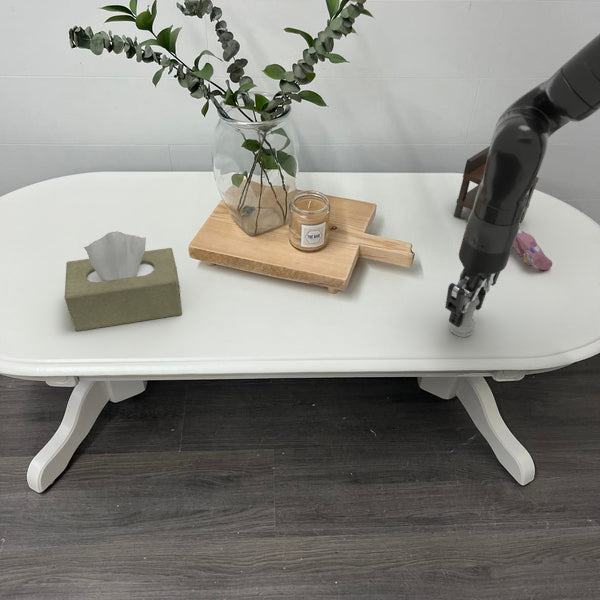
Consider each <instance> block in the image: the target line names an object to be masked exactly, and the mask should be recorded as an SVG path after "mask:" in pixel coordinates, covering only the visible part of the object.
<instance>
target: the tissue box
mask: <svg viewBox="0 0 600 600" xmlns="http://www.w3.org/2000/svg"><path fill="white" fill-rule="evenodd" d="M146 244H147V237H141V236H138V235H134V234H126V233H123V232H122V231H116V230H115V231H110V232H107V233H106V234H105V235H104V236H102V237H100V238H99V239H97V240H95V241H93V242H91V243H89V244H88V245H87V246H83V248H84V250H85V251H86V254H87V257H88V258H85V259H77V260H69V261H66V264H65V265H66V266H65V282H64V283H65V285H64V300H65V304H66V307H67V311H68V312H69V315H70V318H71V320H72V323H73V326H74V329H75V331H76V332H81V331H87V330H93V329H99V328H100V329H101V328H106V327H111V326H118V325H124V324H131V323H136V322H143V321H150V320H155V319H163V318H169V317H175V316H180V315H181V316H182V314H183V309H182V301H181V300H182V299H181V285H180V280H179V275H178V268H177V264H176V259H175V255H174V251H173V248H172V247H166V248H159V249H152V250H146Z"/></svg>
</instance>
